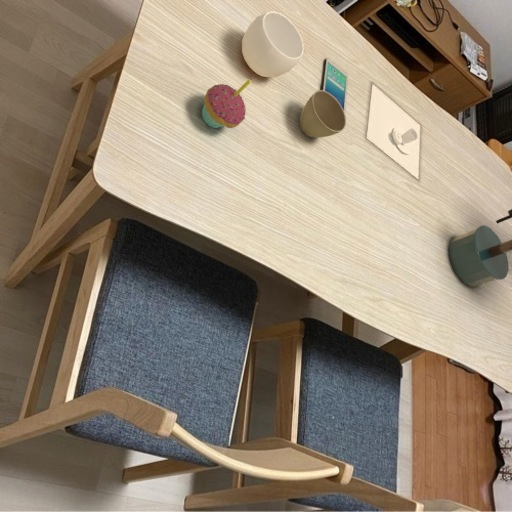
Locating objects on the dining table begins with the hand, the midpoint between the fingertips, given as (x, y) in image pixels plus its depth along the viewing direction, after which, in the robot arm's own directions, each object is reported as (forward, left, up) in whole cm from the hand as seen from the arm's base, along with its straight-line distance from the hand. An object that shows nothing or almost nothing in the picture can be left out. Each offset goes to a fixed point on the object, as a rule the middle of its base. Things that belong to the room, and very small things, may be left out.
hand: (509, 246), depth 142 cm
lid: (0, 0, -5) cm, 5 cm away
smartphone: (+47, -33, -13) cm, 59 cm away
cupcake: (+81, -7, -13) cm, 83 cm away
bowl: (0, 0, -13) cm, 13 cm away
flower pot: (+56, -17, -13) cm, 60 cm away
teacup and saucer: (+24, -31, -13) cm, 41 cm away
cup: (+71, -27, -13) cm, 77 cm away
